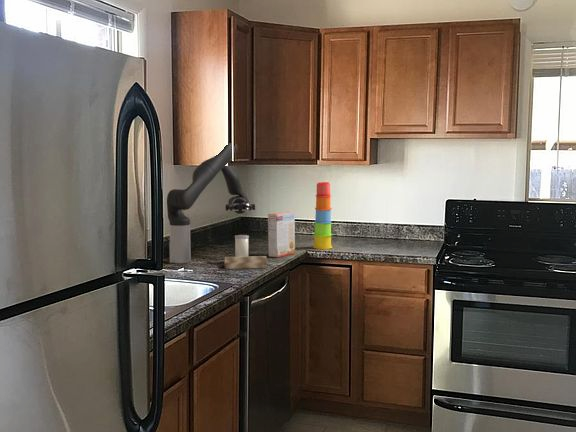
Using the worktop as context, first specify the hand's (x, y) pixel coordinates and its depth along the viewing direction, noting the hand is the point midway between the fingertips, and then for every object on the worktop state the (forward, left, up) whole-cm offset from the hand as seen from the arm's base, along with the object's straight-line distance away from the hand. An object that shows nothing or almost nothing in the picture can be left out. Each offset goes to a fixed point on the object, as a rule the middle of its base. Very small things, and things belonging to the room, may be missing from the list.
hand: (240, 208), depth 294 cm
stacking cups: (+44, +27, -24) cm, 57 cm away
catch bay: (+1, -23, -24) cm, 33 cm away
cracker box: (+20, +5, -24) cm, 31 cm away
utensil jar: (0, -11, -24) cm, 26 cm away
